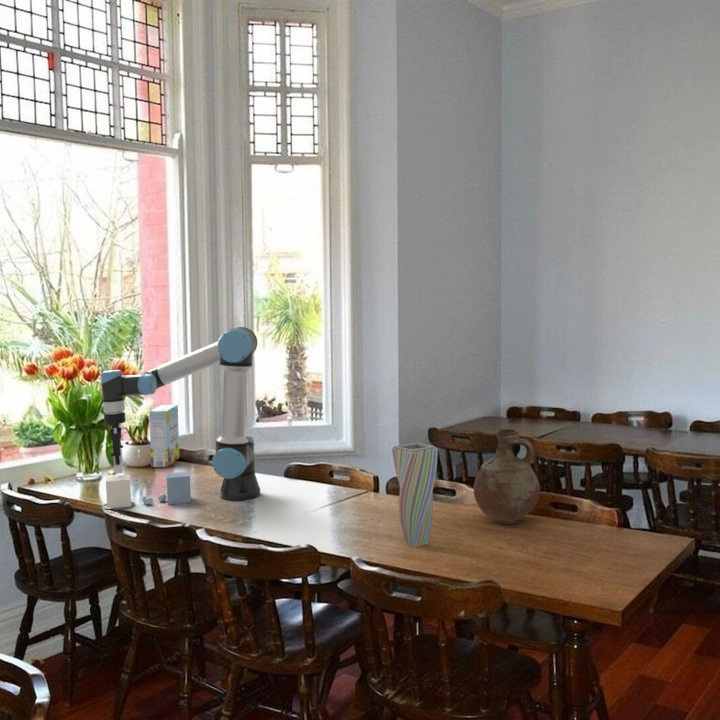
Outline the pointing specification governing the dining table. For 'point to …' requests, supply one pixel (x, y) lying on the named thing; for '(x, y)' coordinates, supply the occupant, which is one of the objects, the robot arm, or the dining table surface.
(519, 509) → the jug
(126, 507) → the coaster
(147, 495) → the marble
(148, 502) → the marble
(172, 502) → the pale blue cube
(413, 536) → the vase
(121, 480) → the cream upright block
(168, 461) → the snack box
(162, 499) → the marble
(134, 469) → the dining table surface
